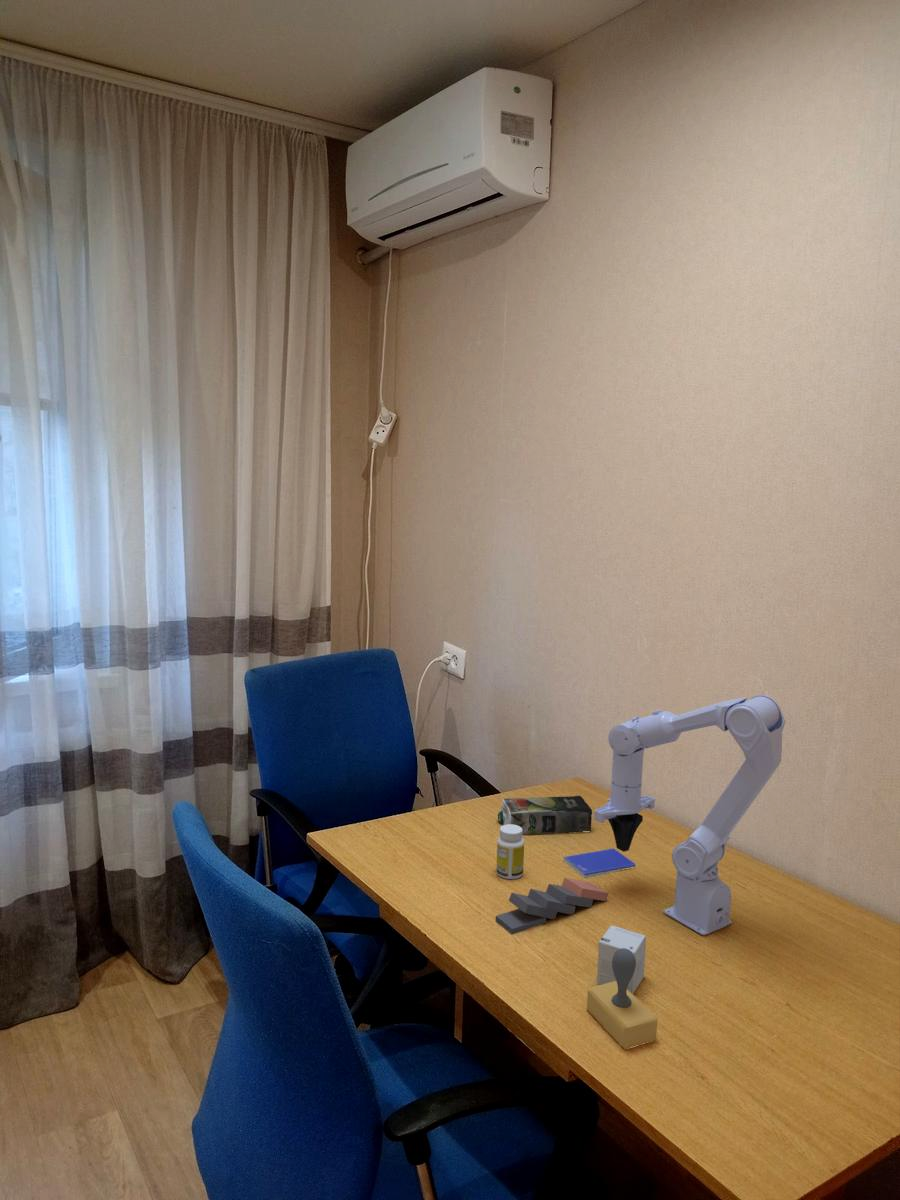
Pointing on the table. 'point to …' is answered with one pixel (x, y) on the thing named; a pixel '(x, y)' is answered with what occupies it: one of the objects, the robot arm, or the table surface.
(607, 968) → the skincare box
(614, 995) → the rubber stamp
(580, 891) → the domino
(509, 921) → the domino
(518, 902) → the domino
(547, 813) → the juice carton
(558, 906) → the domino
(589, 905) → the domino
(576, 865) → the hard drive
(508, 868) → the supplement bottle
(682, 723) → the robot arm
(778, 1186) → the table surface
